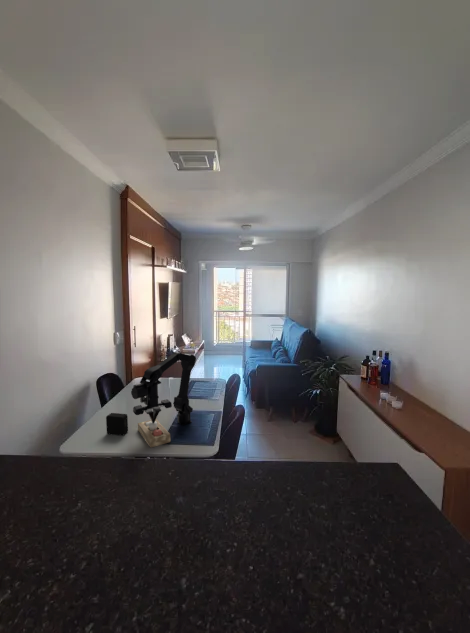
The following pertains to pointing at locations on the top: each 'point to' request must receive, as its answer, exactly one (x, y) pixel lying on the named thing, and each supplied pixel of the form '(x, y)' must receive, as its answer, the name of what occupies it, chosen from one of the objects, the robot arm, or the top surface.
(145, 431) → the beech block
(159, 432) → the red plug
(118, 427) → the electronic device
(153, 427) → the plug
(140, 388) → the robot arm
